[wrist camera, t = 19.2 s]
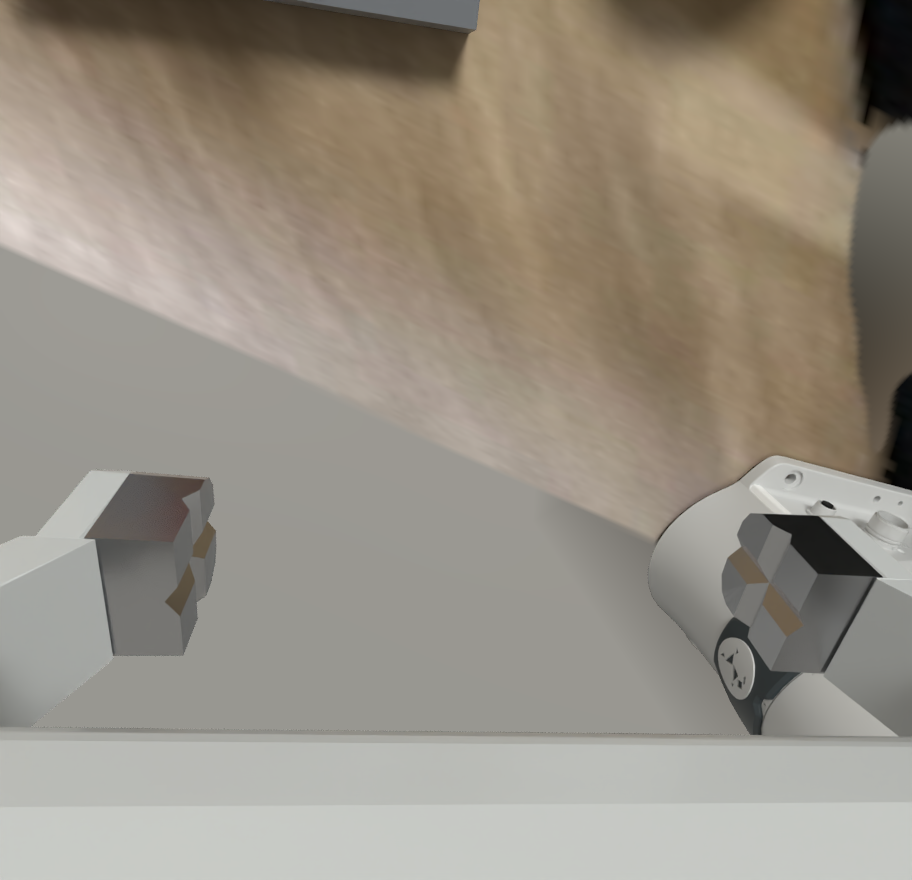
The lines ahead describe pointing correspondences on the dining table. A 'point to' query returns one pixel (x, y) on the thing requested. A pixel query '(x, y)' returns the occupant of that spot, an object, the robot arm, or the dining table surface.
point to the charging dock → (405, 11)
